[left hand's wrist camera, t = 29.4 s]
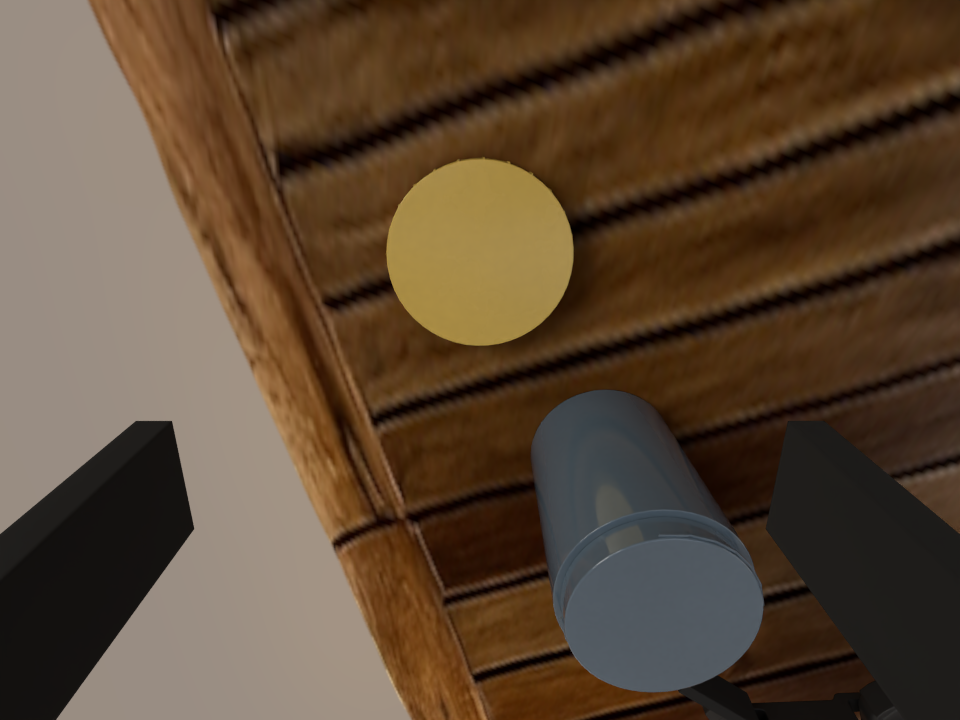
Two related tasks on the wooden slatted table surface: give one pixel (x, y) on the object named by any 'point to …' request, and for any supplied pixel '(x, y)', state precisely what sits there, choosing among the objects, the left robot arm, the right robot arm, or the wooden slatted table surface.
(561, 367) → the wooden slatted table surface
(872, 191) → the wooden slatted table surface
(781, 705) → the right robot arm
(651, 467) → the jar
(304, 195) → the wooden slatted table surface
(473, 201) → the lid
